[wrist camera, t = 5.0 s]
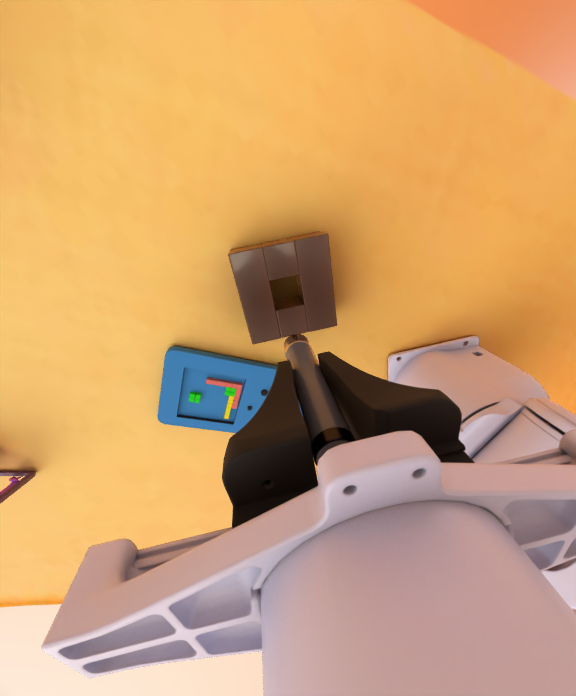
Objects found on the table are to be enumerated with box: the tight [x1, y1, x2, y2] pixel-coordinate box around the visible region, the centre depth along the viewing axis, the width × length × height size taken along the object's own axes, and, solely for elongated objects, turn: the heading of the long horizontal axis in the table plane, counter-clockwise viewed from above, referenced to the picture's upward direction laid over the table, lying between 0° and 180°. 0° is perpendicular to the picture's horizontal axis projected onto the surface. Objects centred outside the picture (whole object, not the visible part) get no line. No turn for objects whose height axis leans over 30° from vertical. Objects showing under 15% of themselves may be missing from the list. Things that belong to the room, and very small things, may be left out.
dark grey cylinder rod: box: [284, 334, 356, 465], centre depth 13 cm, size 2×2×9 cm
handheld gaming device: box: [158, 346, 303, 433], centre depth 26 cm, size 8×1×15 cm
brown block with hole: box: [228, 232, 337, 344], centre depth 21 cm, size 7×7×3 cm
